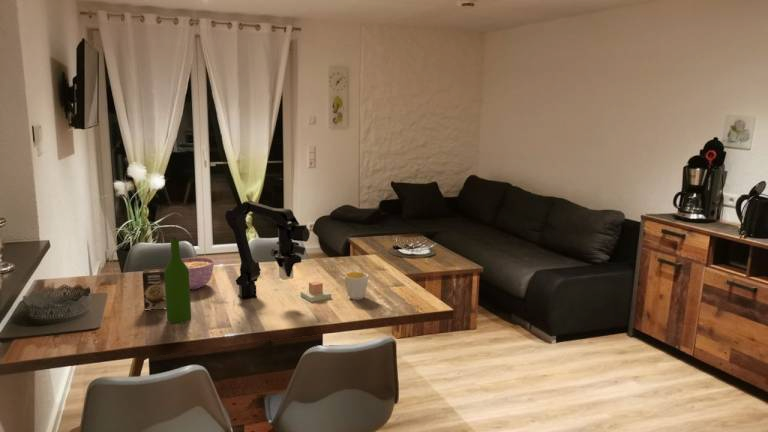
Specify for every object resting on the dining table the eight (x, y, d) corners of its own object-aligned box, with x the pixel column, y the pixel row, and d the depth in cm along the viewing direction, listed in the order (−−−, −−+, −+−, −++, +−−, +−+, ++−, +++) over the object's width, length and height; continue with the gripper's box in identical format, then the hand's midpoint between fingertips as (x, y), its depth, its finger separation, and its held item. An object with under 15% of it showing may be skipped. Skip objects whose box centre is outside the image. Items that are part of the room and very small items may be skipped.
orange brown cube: (313, 294, 255) (313, 285, 254) (308, 292, 259) (308, 282, 258) (322, 293, 257) (322, 283, 257) (318, 290, 261) (317, 280, 260)
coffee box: (144, 311, 239) (141, 273, 236) (146, 306, 245) (143, 268, 242) (167, 309, 241) (165, 271, 238) (169, 304, 247) (166, 267, 244)
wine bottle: (183, 314, 236) (178, 235, 230) (195, 319, 230) (191, 238, 224) (162, 320, 229) (157, 238, 223) (175, 325, 223) (170, 242, 217)
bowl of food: (221, 281, 280) (220, 258, 278) (205, 294, 261) (203, 269, 259) (181, 279, 282) (180, 256, 280) (162, 292, 263) (160, 267, 261)
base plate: (310, 302, 252) (310, 297, 251) (300, 296, 260) (300, 291, 259) (331, 298, 257) (331, 293, 257) (320, 292, 265) (320, 288, 265)
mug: (371, 300, 255) (371, 276, 253) (349, 302, 251) (349, 279, 249) (361, 291, 267) (361, 268, 266) (339, 293, 264) (339, 271, 262)
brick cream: (283, 279, 245) (283, 269, 245) (279, 277, 249) (278, 267, 248) (293, 278, 248) (293, 267, 247) (289, 275, 252) (288, 265, 251)
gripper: (312, 241, 242) (313, 277, 245) (293, 233, 258) (294, 267, 260) (287, 244, 236) (288, 281, 239) (269, 236, 252) (271, 271, 254)
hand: (286, 275), depth 248 cm, fingers closed on brick cream, 4 cm apart
